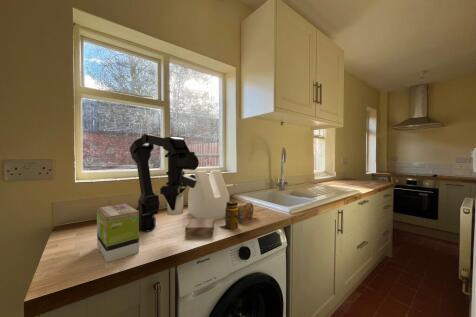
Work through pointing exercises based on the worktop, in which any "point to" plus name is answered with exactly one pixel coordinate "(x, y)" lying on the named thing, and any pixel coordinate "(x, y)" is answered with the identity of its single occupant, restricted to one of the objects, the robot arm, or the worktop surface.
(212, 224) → the riser
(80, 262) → the worktop surface
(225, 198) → the white plastic jug
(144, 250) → the worktop surface
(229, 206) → the condiment
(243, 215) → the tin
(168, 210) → the canister
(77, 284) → the worktop surface
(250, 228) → the worktop surface
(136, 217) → the tea box
